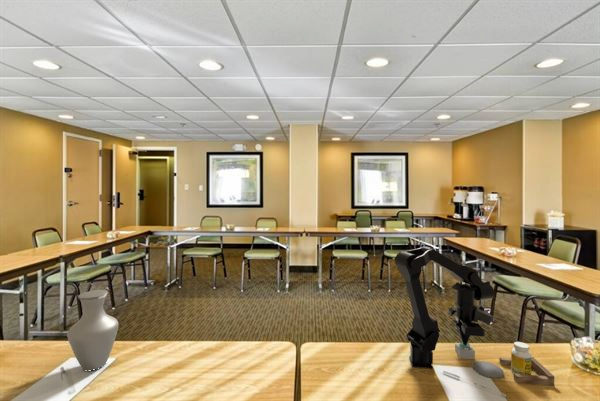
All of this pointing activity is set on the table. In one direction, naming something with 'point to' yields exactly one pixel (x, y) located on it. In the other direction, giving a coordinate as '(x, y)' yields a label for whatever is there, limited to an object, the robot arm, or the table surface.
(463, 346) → the plunger
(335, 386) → the table surface
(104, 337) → the vase
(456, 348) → the plunger block
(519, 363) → the supplement bottle
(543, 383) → the housing rails
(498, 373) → the rubber pad
